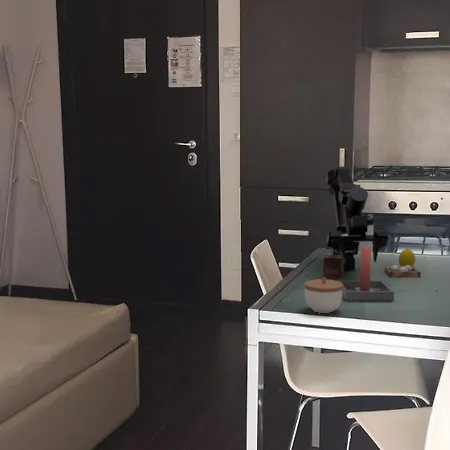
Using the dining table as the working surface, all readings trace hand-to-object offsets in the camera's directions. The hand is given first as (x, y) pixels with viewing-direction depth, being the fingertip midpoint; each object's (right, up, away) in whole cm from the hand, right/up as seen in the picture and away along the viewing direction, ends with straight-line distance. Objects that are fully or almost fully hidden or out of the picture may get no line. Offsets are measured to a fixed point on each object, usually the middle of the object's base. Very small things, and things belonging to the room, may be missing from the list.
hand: (360, 261), depth 220 cm
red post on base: (0, -9, -5) cm, 11 cm away
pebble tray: (+18, -6, +20) cm, 27 cm away
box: (-5, -7, +19) cm, 21 cm away
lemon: (+21, -5, +29) cm, 36 cm away
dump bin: (0, -10, -5) cm, 11 cm away
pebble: (+20, -5, +21) cm, 29 cm away
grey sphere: (+15, -5, +20) cm, 26 cm away
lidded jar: (-15, -13, -22) cm, 29 cm away
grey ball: (+18, -6, +18) cm, 26 cm away
